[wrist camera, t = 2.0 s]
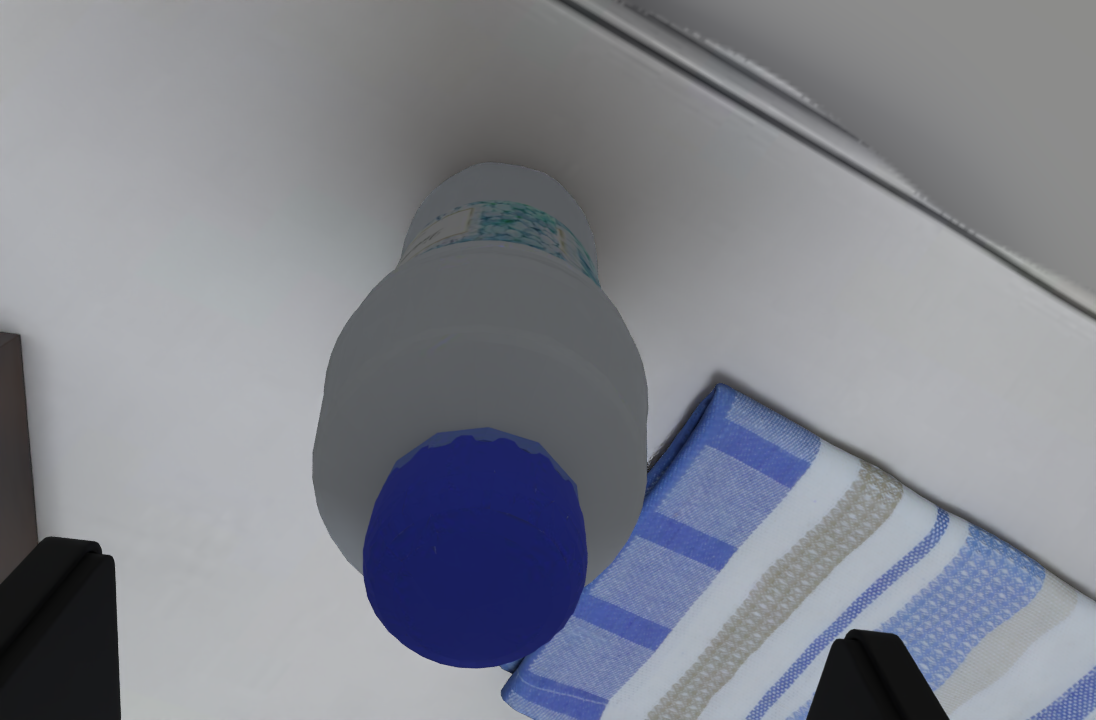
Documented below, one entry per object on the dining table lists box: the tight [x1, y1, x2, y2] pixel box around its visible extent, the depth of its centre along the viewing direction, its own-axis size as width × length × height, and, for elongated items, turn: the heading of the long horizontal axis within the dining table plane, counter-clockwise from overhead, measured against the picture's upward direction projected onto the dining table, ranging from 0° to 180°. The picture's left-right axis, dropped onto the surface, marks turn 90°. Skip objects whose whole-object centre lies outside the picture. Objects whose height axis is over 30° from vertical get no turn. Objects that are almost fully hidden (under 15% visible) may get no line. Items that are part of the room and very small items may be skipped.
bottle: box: [312, 162, 648, 668], centre depth 21 cm, size 7×7×20 cm
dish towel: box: [499, 383, 1096, 720], centre depth 36 cm, size 17×24×3 cm
